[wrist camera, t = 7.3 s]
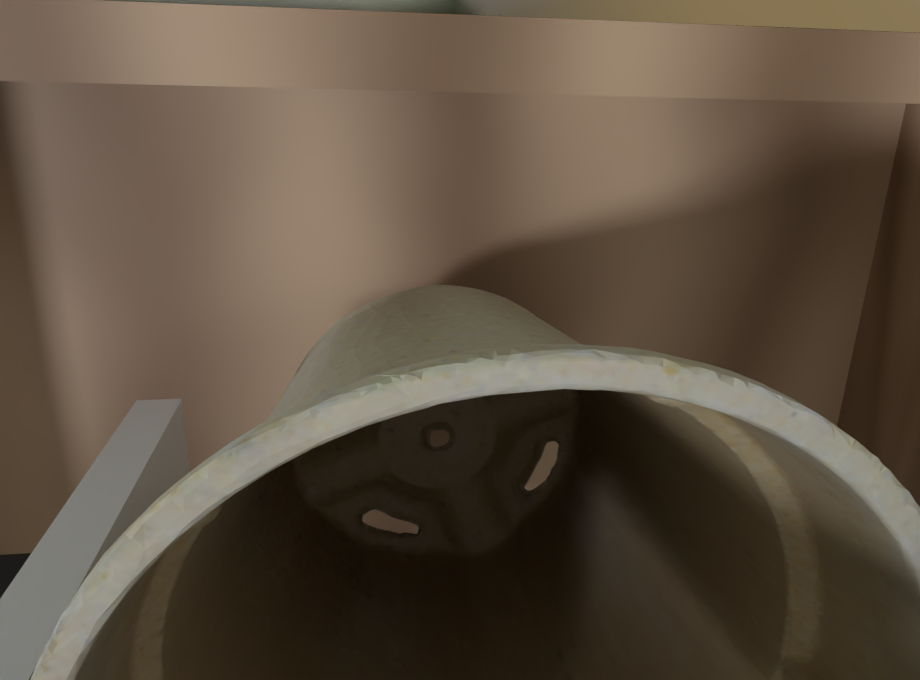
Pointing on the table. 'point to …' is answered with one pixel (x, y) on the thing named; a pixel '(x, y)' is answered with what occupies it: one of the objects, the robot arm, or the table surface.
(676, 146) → the wooden tray
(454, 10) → the table surface
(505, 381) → the flower pot
